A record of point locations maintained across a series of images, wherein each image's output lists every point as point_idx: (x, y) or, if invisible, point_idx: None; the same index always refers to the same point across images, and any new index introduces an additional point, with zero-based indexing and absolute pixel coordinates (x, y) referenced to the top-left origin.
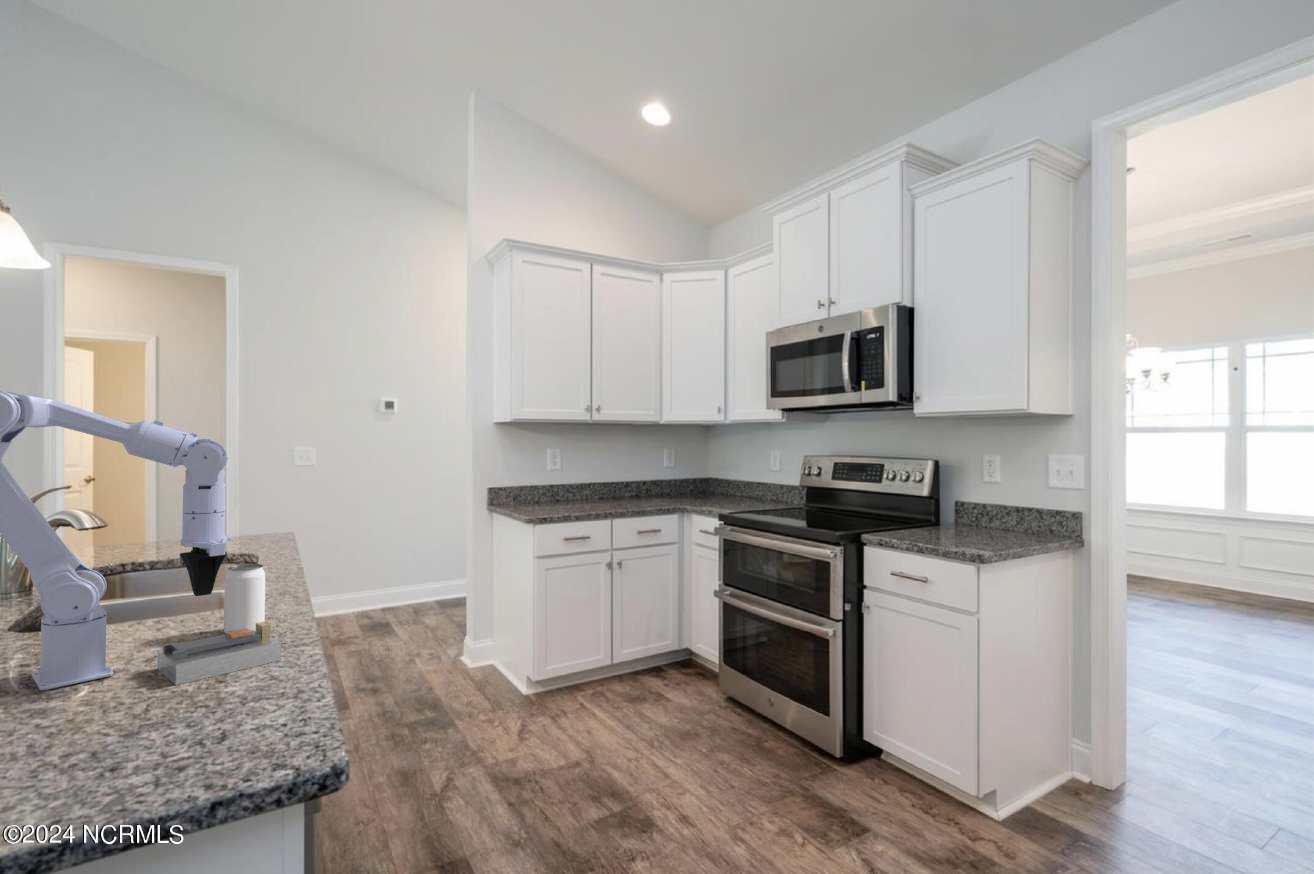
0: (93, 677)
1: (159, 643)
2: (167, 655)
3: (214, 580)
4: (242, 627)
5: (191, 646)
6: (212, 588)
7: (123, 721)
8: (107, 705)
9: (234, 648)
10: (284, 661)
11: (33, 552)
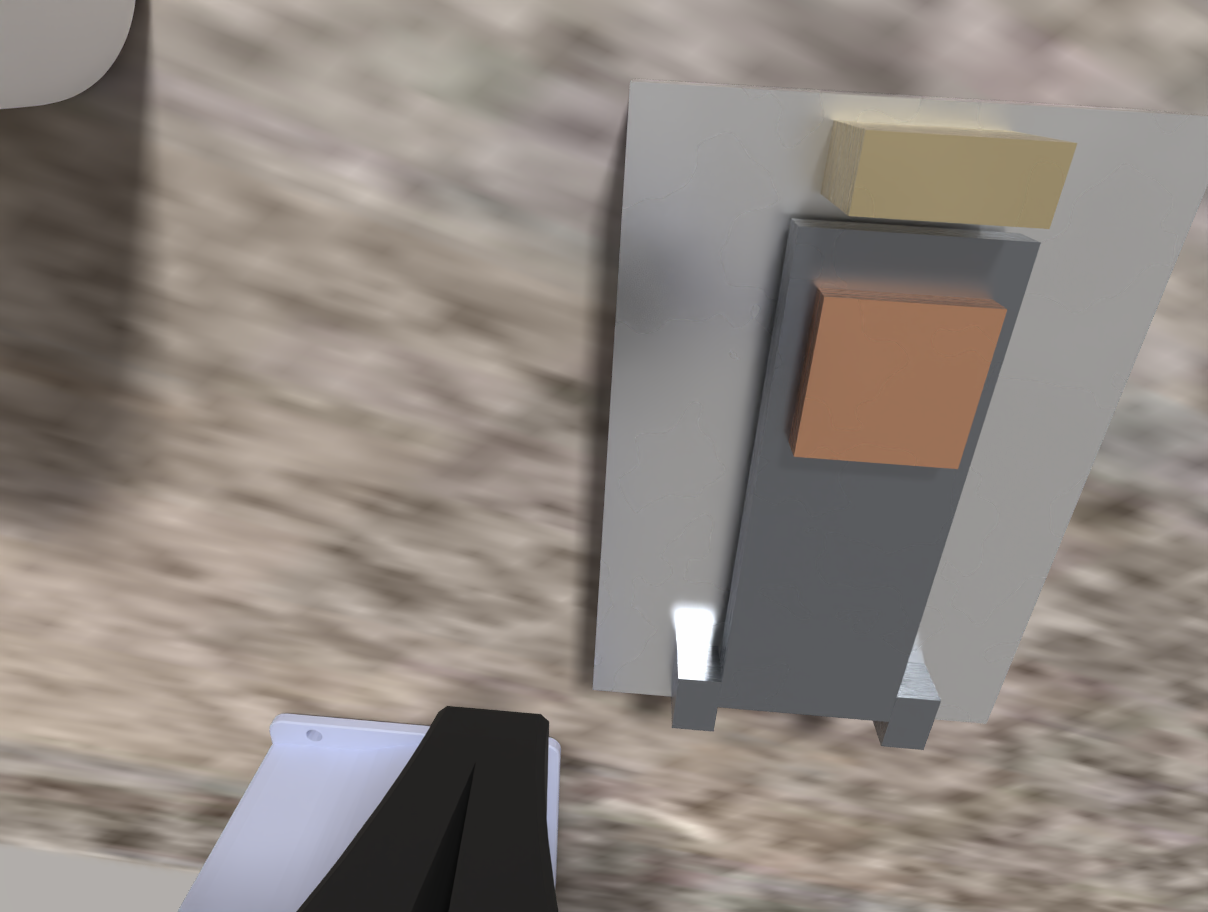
0: (557, 793)
1: (57, 464)
2: None
3: (550, 872)
4: (105, 4)
5: (872, 661)
6: (542, 767)
7: (1166, 839)
8: (928, 823)
9: (1002, 434)
10: (1179, 98)
11: None
